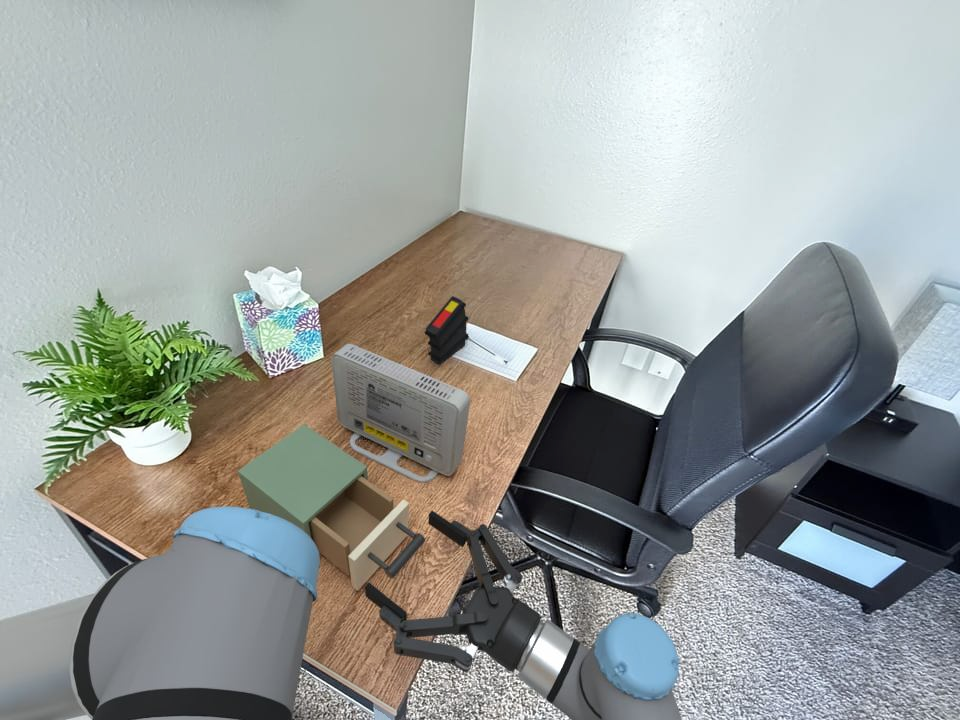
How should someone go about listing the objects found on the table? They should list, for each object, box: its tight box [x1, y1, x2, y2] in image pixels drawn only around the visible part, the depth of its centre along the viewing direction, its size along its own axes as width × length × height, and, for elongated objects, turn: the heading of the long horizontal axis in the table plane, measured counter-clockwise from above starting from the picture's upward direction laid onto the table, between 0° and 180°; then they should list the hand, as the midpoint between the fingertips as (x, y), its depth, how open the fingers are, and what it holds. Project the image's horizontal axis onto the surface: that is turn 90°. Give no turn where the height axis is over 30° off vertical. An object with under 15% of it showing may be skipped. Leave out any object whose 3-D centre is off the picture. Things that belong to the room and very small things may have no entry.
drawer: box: [308, 476, 426, 592], centre depth 71 cm, size 18×11×9 cm, turn 57°
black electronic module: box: [424, 295, 469, 365], centre depth 112 cm, size 4×13×15 cm, turn 146°
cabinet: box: [237, 423, 369, 555], centre depth 75 cm, size 15×13×11 cm
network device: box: [330, 343, 471, 484], centre depth 84 cm, size 26×9×20 cm, turn 65°
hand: (400, 550), depth 67 cm, fingers open, 13 cm apart
